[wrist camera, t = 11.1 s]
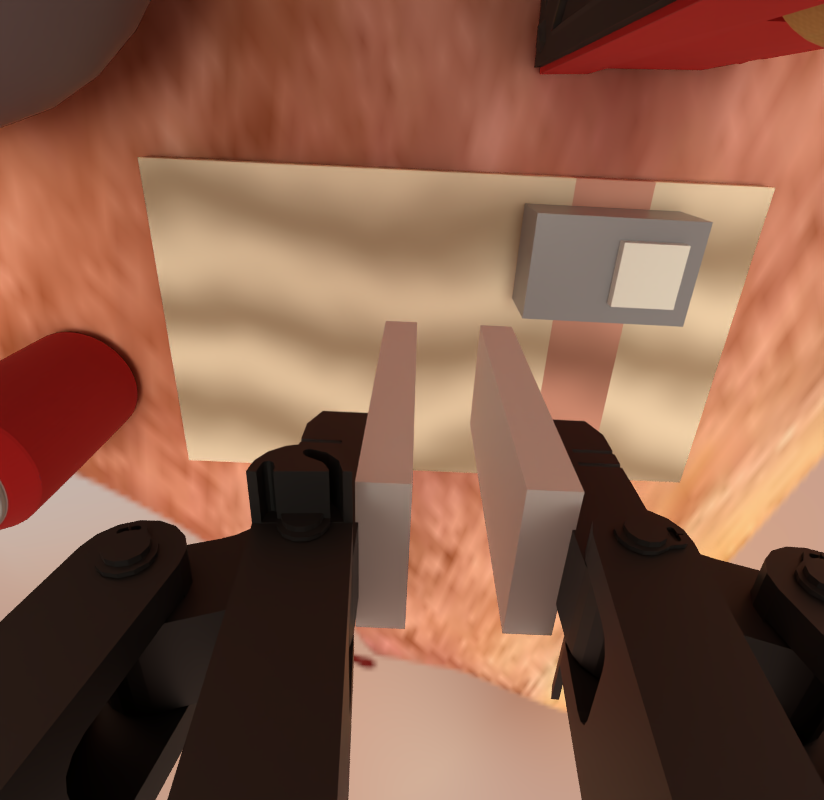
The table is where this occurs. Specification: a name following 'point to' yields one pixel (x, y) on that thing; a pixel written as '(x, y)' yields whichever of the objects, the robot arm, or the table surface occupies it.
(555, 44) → the red mechanical device
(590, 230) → the block
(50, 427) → the beverage can
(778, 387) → the table surface
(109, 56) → the flattened ellipsoid
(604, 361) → the subfloor panel
